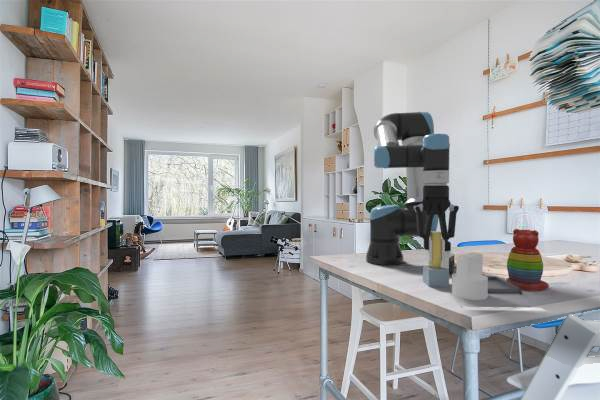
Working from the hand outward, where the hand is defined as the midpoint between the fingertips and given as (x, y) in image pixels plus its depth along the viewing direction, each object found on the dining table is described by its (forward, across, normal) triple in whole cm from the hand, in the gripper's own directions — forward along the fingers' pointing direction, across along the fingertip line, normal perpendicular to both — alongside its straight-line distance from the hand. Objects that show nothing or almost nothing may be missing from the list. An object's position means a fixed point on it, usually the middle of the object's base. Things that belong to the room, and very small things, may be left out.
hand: (435, 259), depth 108 cm
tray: (+8, +16, -2) cm, 18 cm away
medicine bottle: (+9, +7, +15) cm, 19 cm away
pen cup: (+8, 0, 0) cm, 8 cm away
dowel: (+7, 0, 0) cm, 7 cm away
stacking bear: (+9, +27, 0) cm, 28 cm away
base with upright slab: (+8, +6, -11) cm, 15 cm away
